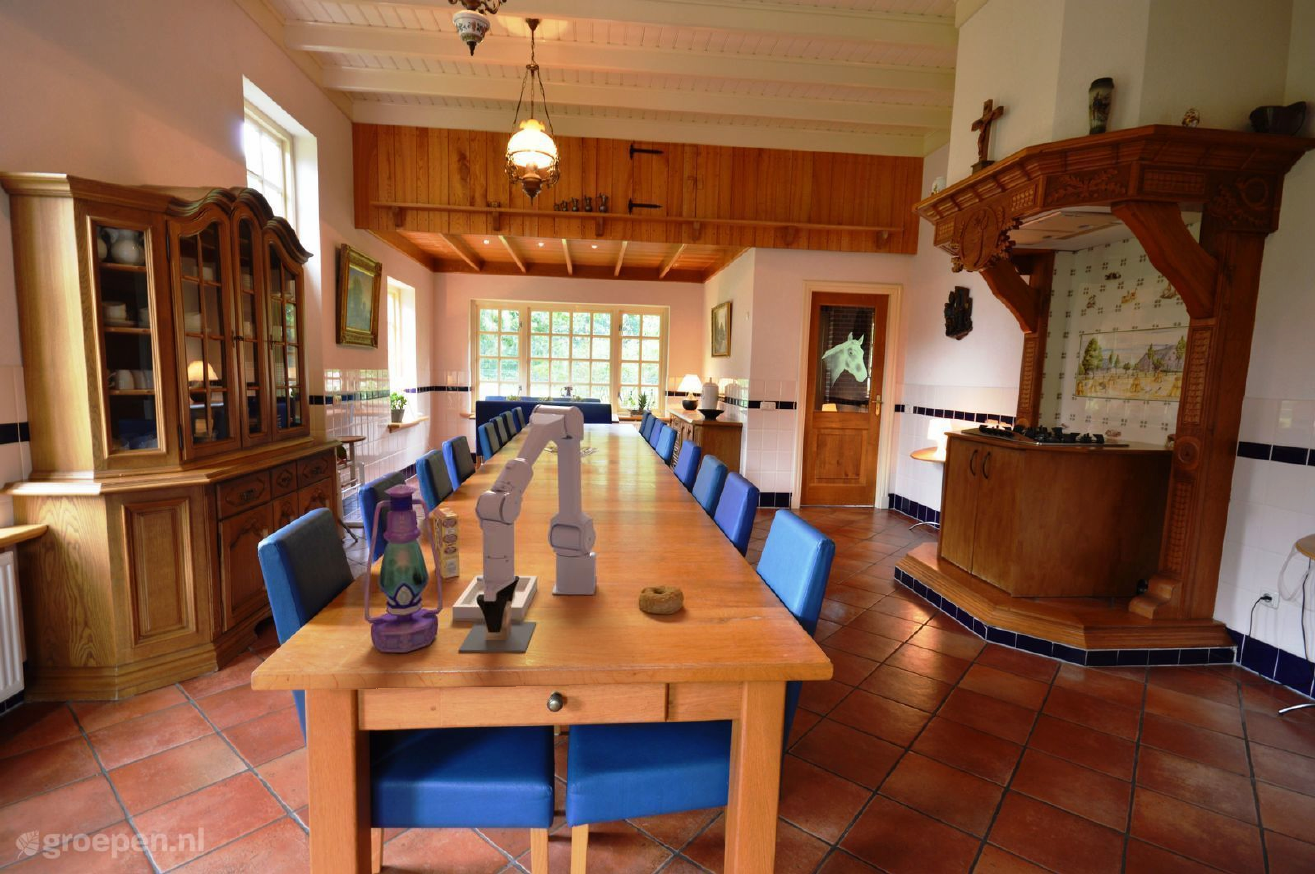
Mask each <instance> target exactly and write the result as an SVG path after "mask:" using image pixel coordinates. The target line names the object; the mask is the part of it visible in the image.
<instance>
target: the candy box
mask: <svg viewBox="0 0 1315 874" xmlns="http://www.w3.org/2000/svg"><path fill="white" fill-rule="evenodd" d="M432 514H433V515H432V516H433V518H432V519H433V541H434V545H435V549H436V553H437V558H438V563H439V568H440V575H441V578H443V579H448V578H453V577H454V578H455V577H460V574H461V571H460V545H459V544H460V542H459V516H458V514H457V513H455V512H454V511H453V510H452V509H451V508H449V507H445V508H436V509H433V510H432Z"/></svg>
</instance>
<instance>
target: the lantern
mask: <svg viewBox="0 0 1315 874" xmlns="http://www.w3.org/2000/svg"><path fill="white" fill-rule="evenodd" d="M417 491H418V488H415V487H412V486H409V485H407V484H404V483H403V484H401V483H399V484H397V485H394V486H392V487H390V488H388V489H386V490H384V491H383V493H385V494H387V495H389V496H390V497H389V500H381V501H380V502H377V504H376V507H375V511H374V516H373V517H374V518H373V528H372V535H371V542H370V548H369V554H368V558H367V564H366V572H365V573H366V574H365V580H364V581H365V582H364V590H363V591H364V596H363V597H364V620H365V621H366V622H368V624H371V626H370V638H371V643H372V645H373V646H374V647H376V648H377V649H378V650H379V651H380V652H381V653H408V652H412V651H414V650H418V649H421V648H424V647H426V646H429V645H430V644H431V643H432V642H433V640H434V639H435V638H436V636H437V634H438V629H439V617H438V616H437V615H439V614H440V613H441V611H442V610H443V587H442V586H443V584H442V583H443V582H442V576H441V574H440V568H439V563H438V558H437V553H436V549H435V545H434V535H433V532H432V528H431V522H430V521H431V520H430V515H429V509H428V506H427V502H426V500H424V499H423V498H413V495H414V493H415V492H417ZM413 505H421V506H422V510H423V514H424V518H425V525H426V531H427V536H428V540H429V541H428V542H429V544H430V548H431V552H432V557H433V562H434V566H435V567H434V568H435V573H436V580H437V599H438V600H437V601H438V603H437V604H438V605H437V607H436V609H427V608H423V604H422V601H423V598H422V596H421V595H422V593H423V592H424V590H425V588H426V586H427V584H428V581H429V573H428V569H427V566H426V562H425V557H424V554H423V551H422V548H421V546H420V543H419V542H418V540H417V539H418V538H419V537H420V536H421V532H422V531H421V529H419V528H418V524H417V523H418V522H417V512H416V510H415V509H413V507H414V506H413ZM382 507H383V508H385V507H390V510H389V511H387V516H386V525H387V526H386V531H385V532H383V535H382V536H383V539H385V540H386V542H387V544H386V546H385V549H384V552H383V555H382V561H381V565H380V570H379V574H378V575H379V576H378V580H377V581H378V583H377V585H378V588H379V589H380V591H381V593H382V594H383V595H384V596H385V598H386V599H387V601H386V604H385V605H386V606H387V607H386V613H382V614H381V615H380V616H376V617H372V616H370V591H369V590H370V581H371V580H370V579H371V571H372V570H371V569H372V563H373V556H374V551H375V547H376V541H377V535H378V526H379V516H380V512H381V508H382Z"/></svg>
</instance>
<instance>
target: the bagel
mask: <svg viewBox="0 0 1315 874" xmlns="http://www.w3.org/2000/svg"><path fill="white" fill-rule="evenodd" d="M640 593H641V594H640V595H639V596H638V607H639V609H640V610H642V611H643V612H646V613H647V614H656V615H657V614H658V615H672V614H675V613H677V612H679V611H680V610H681V609H682V608H683V603H684V601H685V596H684V593H683V591H682V589H681V588H680V587H679V586H676V585H671V586H666V585H659V586H650V587H644V588H643V589H642V590H641V591H640Z"/></svg>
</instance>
